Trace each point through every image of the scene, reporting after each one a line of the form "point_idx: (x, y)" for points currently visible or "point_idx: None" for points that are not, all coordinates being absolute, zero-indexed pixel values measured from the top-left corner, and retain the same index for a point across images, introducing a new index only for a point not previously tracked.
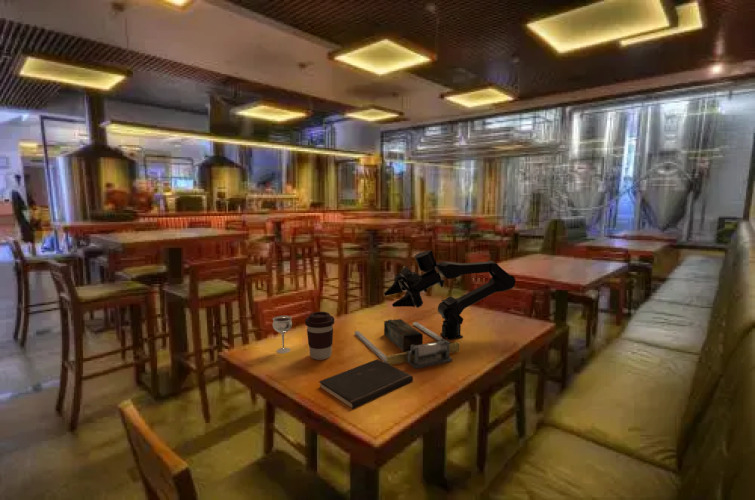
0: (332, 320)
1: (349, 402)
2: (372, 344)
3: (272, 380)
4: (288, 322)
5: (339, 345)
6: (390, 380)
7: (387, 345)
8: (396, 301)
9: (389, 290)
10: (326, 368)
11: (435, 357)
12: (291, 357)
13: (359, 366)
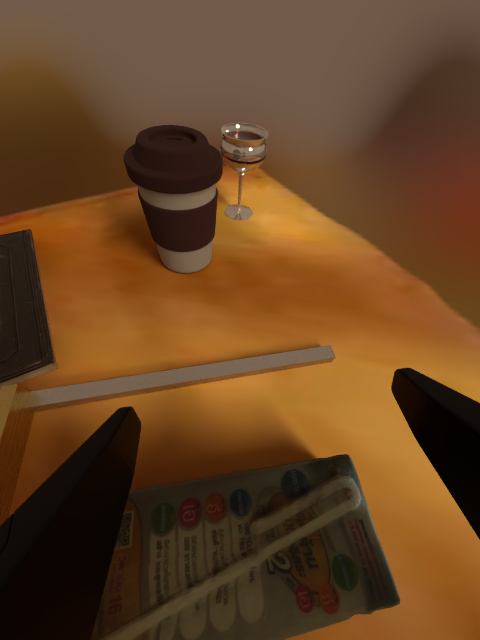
0: (140, 171)
1: None
2: (194, 377)
3: (114, 194)
4: (229, 144)
5: (240, 298)
6: None
7: (198, 445)
8: (90, 452)
9: (458, 427)
10: (113, 258)
11: None
12: None
13: (38, 304)
